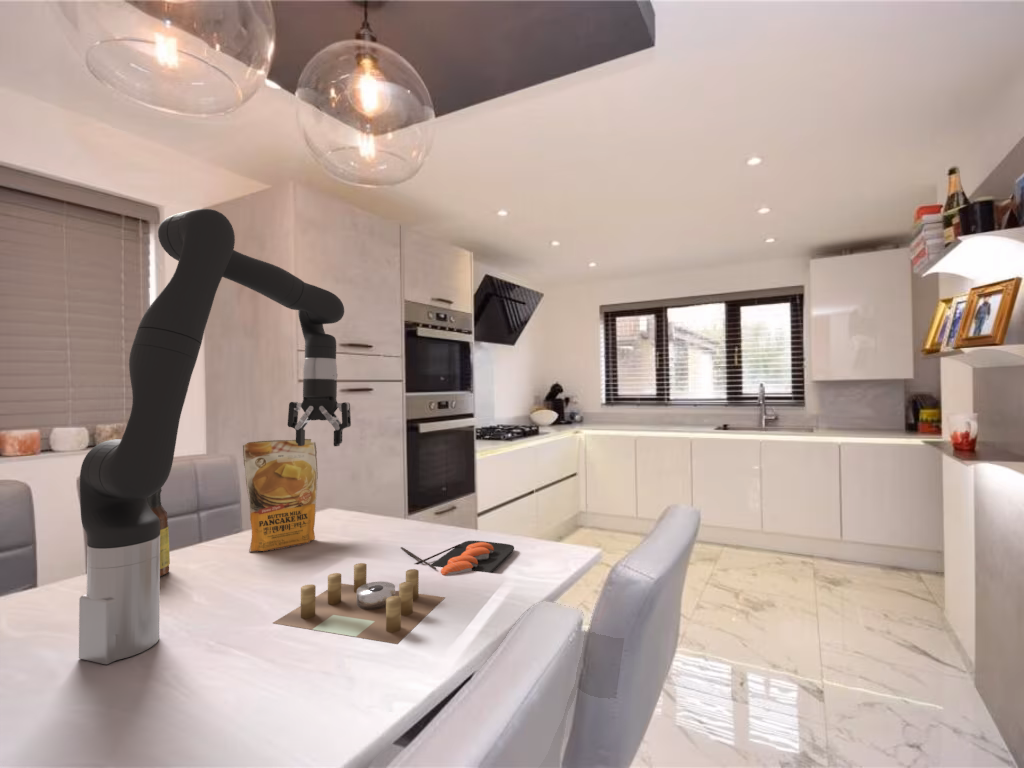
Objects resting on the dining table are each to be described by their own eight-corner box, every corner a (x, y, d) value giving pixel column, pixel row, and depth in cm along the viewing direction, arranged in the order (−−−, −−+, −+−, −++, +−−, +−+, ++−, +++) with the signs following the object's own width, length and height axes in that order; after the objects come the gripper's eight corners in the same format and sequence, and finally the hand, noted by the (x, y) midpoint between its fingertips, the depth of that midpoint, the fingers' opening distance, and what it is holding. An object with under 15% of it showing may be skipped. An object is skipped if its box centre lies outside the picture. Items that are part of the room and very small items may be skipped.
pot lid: (382, 612, 88) (382, 597, 88) (348, 607, 90) (348, 593, 90) (401, 596, 94) (401, 583, 94) (370, 592, 96) (370, 579, 96)
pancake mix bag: (239, 549, 127) (240, 441, 127) (315, 535, 139) (315, 437, 139) (244, 556, 122) (245, 443, 122) (322, 541, 134) (323, 438, 134)
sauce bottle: (164, 568, 113) (165, 482, 114) (173, 574, 109) (174, 485, 110) (129, 576, 108) (130, 486, 109) (137, 583, 104) (138, 490, 105)
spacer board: (397, 653, 77) (397, 611, 77) (272, 631, 83) (272, 593, 84) (445, 605, 94) (445, 571, 94) (338, 590, 101) (338, 558, 101)
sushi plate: (472, 597, 98) (472, 578, 98) (348, 579, 108) (348, 561, 108) (517, 552, 126) (517, 537, 126) (415, 540, 136) (415, 527, 136)
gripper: (283, 377, 113) (281, 447, 113) (344, 377, 113) (342, 447, 112) (298, 378, 121) (296, 444, 120) (355, 378, 120) (354, 444, 120)
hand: (319, 445), depth 116 cm, fingers open, 8 cm apart
